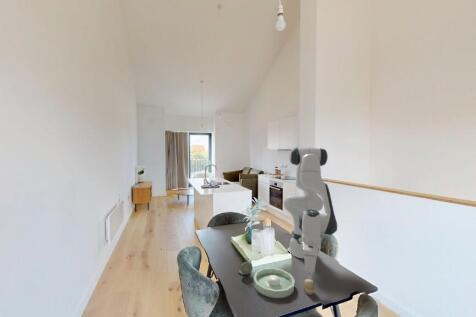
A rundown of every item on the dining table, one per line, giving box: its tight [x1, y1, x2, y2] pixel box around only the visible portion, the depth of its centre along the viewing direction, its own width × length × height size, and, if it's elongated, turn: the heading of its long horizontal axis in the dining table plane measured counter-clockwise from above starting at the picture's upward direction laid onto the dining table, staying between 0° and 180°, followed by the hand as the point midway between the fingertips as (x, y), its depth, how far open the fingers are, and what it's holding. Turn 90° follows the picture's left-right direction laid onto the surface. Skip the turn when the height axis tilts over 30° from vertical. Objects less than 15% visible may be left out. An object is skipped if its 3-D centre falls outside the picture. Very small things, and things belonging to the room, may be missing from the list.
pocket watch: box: [238, 257, 253, 276], centre depth 126 cm, size 8×8×10 cm
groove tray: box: [252, 267, 296, 299], centre depth 116 cm, size 20×20×4 cm
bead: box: [303, 278, 315, 296], centre depth 111 cm, size 4×4×5 cm
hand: (310, 272), depth 110 cm, fingers open, 8 cm apart
